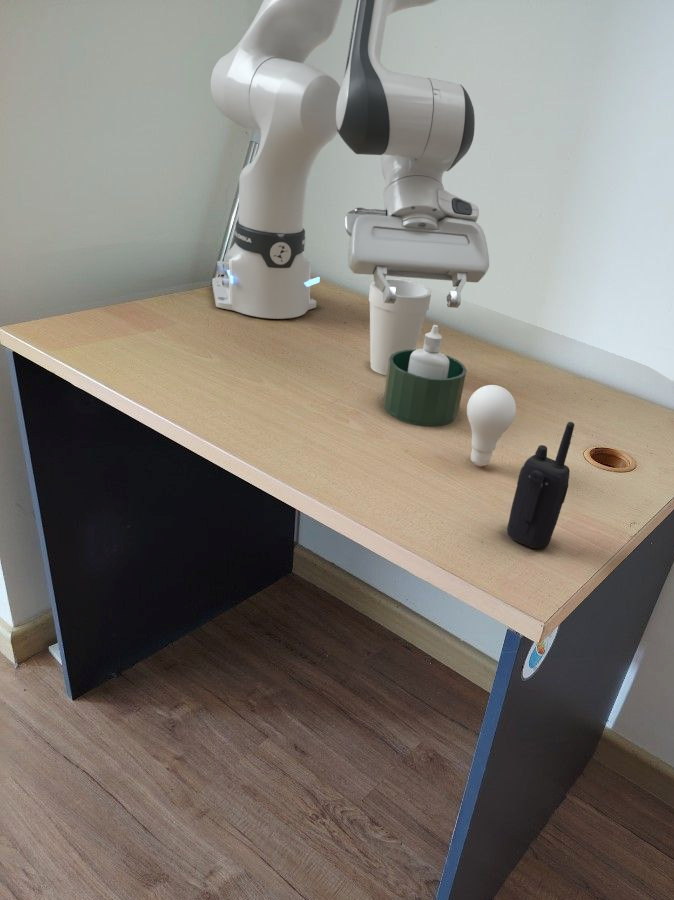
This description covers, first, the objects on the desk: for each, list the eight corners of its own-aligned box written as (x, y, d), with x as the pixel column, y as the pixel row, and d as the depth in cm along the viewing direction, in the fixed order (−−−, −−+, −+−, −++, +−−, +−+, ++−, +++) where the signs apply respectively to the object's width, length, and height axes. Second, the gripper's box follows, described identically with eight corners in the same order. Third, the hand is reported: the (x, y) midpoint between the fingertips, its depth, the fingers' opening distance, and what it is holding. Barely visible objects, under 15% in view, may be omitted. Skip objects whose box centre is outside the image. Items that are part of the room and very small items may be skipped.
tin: (371, 395, 113) (376, 350, 109) (435, 391, 117) (443, 348, 114) (403, 429, 105) (410, 381, 101) (471, 423, 110) (480, 377, 106)
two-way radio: (554, 544, 86) (591, 424, 77) (538, 560, 82) (574, 436, 74) (512, 524, 88) (543, 405, 80) (494, 539, 85) (524, 417, 76)
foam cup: (381, 383, 117) (393, 299, 110) (349, 360, 123) (358, 279, 116) (430, 376, 122) (443, 295, 115) (397, 355, 128) (408, 277, 121)
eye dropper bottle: (423, 416, 108) (437, 334, 101) (398, 400, 111) (410, 320, 105) (445, 411, 111) (460, 331, 104) (420, 396, 114) (433, 317, 107)
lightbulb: (463, 449, 102) (479, 372, 96) (506, 463, 101) (526, 385, 95) (449, 468, 97) (465, 388, 91) (494, 482, 96) (514, 402, 90)
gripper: (348, 193, 103) (354, 287, 101) (488, 207, 109) (497, 297, 106) (340, 219, 109) (345, 309, 107) (473, 232, 115) (481, 317, 112)
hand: (422, 303), depth 107 cm, fingers open, 8 cm apart
